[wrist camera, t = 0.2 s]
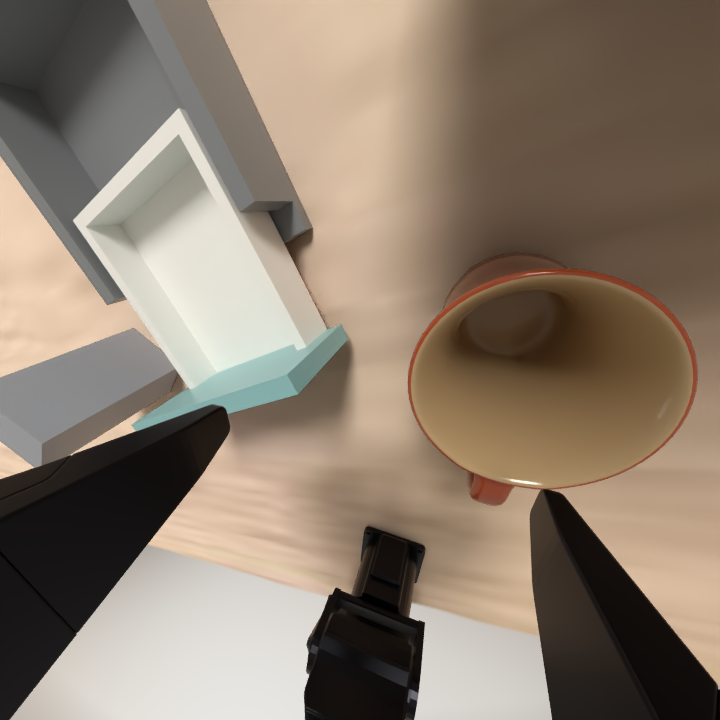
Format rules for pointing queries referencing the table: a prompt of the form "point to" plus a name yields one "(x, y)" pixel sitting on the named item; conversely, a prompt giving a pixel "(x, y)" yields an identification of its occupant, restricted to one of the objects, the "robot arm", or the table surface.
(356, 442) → the table surface
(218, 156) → the grey storage bin
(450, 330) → the mug
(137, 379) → the block
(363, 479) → the table surface
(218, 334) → the white drawer
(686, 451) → the table surface
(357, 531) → the table surface
